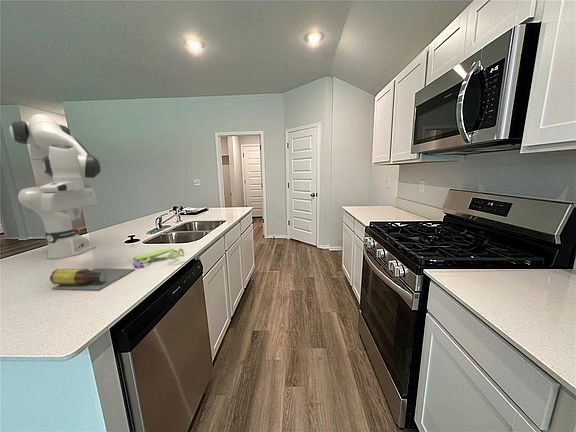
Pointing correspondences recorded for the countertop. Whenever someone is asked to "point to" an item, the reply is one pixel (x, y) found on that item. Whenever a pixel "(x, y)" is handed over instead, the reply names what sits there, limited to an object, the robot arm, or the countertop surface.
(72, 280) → the sauce bottle
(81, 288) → the rubber mat
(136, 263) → the figurine
